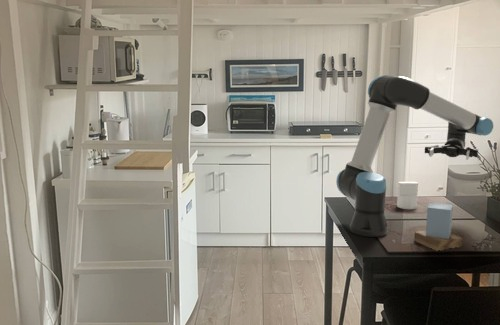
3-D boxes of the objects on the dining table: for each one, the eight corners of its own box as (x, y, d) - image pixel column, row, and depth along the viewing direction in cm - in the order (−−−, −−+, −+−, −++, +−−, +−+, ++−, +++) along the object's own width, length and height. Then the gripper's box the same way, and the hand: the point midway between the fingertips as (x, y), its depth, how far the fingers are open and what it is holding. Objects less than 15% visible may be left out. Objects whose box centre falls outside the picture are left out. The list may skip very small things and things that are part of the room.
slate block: (448, 238, 180) (450, 210, 178) (425, 235, 184) (427, 207, 182) (451, 232, 187) (452, 205, 185) (429, 229, 191) (430, 202, 189)
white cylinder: (412, 204, 241) (414, 180, 239) (419, 209, 233) (421, 184, 230) (394, 204, 241) (395, 180, 239) (400, 209, 232) (402, 184, 230)
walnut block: (436, 252, 178) (437, 241, 177) (414, 241, 189) (414, 231, 188) (461, 247, 183) (462, 237, 182) (438, 237, 194) (438, 228, 193)
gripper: (484, 158, 207) (482, 166, 189) (422, 153, 218) (415, 161, 200) (486, 141, 206) (484, 147, 187) (424, 137, 217) (416, 143, 198)
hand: (448, 154), depth 193 cm, fingers open, 13 cm apart
